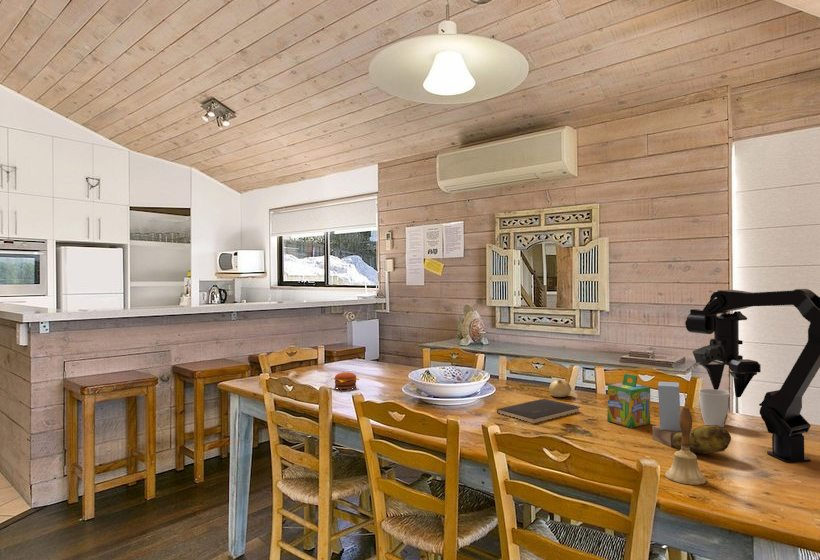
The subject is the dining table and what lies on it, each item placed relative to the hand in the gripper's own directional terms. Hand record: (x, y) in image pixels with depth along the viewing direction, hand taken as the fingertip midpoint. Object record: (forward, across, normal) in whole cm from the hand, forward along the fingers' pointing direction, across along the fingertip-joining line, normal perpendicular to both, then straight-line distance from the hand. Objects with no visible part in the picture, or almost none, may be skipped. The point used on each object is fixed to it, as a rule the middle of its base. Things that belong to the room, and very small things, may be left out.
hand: (726, 393), depth 143 cm
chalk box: (+14, -20, -18) cm, 30 cm away
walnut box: (+13, -1, -15) cm, 20 cm away
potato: (+13, +10, -13) cm, 21 cm away
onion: (+14, -57, -27) cm, 64 cm away
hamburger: (+14, -83, -110) cm, 138 cm away
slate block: (+9, -1, -15) cm, 18 cm away
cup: (+13, -15, +6) cm, 21 cm away
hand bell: (+13, +24, -26) cm, 38 cm away
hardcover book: (+14, -35, -42) cm, 56 cm away
